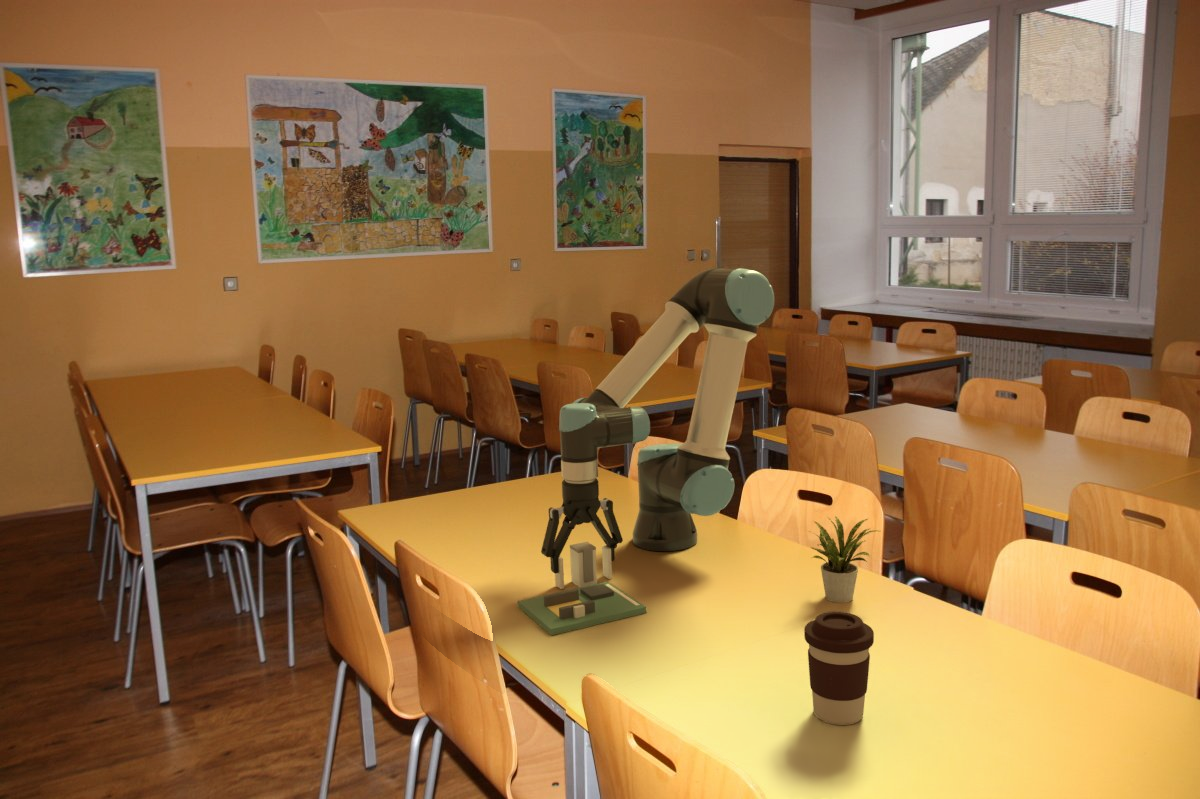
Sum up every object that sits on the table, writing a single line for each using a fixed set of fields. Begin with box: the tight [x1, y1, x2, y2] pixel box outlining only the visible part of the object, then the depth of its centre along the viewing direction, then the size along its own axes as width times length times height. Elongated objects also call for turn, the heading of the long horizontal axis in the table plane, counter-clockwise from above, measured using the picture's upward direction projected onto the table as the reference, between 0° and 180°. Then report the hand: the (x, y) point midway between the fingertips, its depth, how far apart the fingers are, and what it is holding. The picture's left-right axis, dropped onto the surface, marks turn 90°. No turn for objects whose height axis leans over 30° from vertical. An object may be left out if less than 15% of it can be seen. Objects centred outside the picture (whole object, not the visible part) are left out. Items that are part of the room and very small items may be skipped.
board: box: [517, 581, 647, 636], centre depth 189 cm, size 20×16×3 cm
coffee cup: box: [803, 610, 875, 726], centre depth 144 cm, size 10×10×15 cm
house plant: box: [807, 515, 880, 604], centre depth 189 cm, size 14×14×16 cm
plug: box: [569, 541, 598, 588], centre depth 203 cm, size 4×4×8 cm
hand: (583, 581), depth 203 cm, fingers open, 10 cm apart
